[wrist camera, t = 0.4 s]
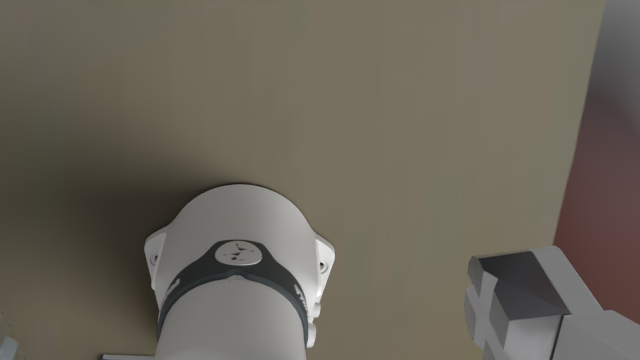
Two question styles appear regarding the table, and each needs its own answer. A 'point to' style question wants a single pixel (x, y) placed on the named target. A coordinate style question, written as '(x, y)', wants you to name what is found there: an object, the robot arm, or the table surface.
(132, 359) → the hard drive
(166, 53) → the table surface
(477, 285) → the robot arm
